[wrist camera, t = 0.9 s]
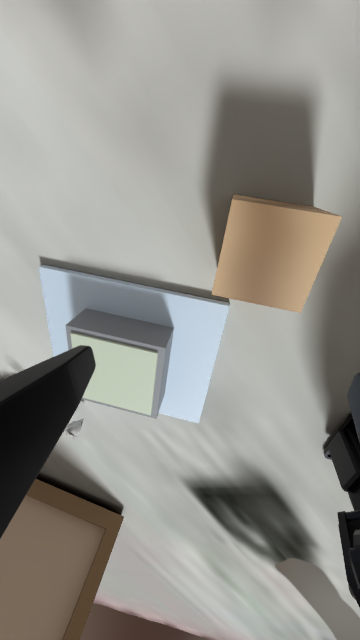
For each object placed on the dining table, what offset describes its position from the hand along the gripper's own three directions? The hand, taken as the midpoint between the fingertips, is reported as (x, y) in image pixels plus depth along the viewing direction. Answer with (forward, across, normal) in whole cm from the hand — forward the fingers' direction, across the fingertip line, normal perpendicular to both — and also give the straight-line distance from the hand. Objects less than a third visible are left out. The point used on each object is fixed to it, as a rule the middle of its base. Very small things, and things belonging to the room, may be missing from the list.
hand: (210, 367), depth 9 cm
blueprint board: (+11, +8, +8) cm, 16 cm away
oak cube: (+12, -2, -2) cm, 12 cm away
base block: (+11, +8, +8) cm, 16 cm away
